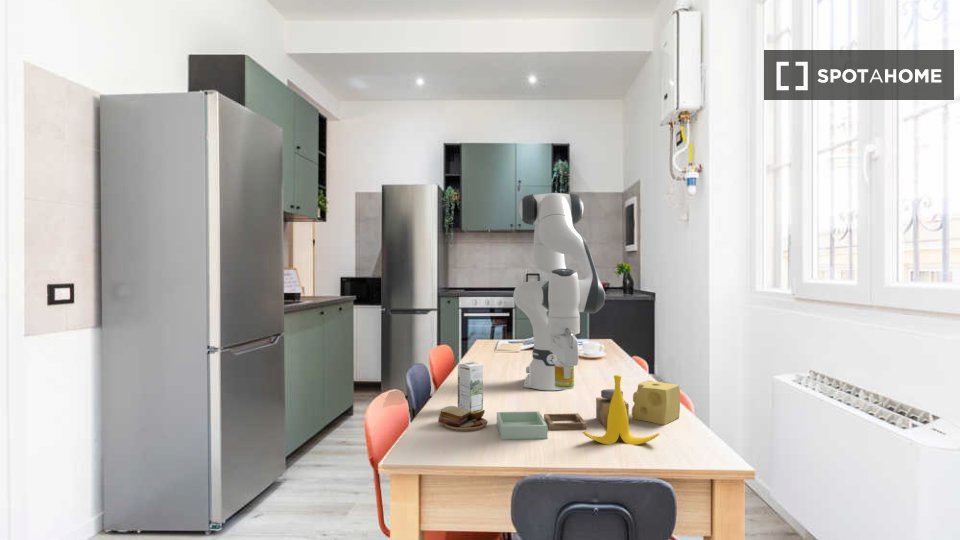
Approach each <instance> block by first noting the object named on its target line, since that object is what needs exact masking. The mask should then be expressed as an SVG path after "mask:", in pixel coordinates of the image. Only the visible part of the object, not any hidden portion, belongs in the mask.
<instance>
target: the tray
mask: <svg viewBox="0 0 960 540" xmlns="http://www.w3.org/2000/svg"><path fill="white" fill-rule="evenodd" d="M496 426H497V429H498V432H499V436H500V437H499V438H500V440H501V441H502V440H539V439H540V440H541V439H542V440H543V439H548V425H547V424H546V422H545V420H544V417H543V416H542V414H541V413H540V411H539V410H537V411H536V410H535V411H533V410H531V411H530V410H529V411H526V410H525V411H497V412H496Z"/></svg>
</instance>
